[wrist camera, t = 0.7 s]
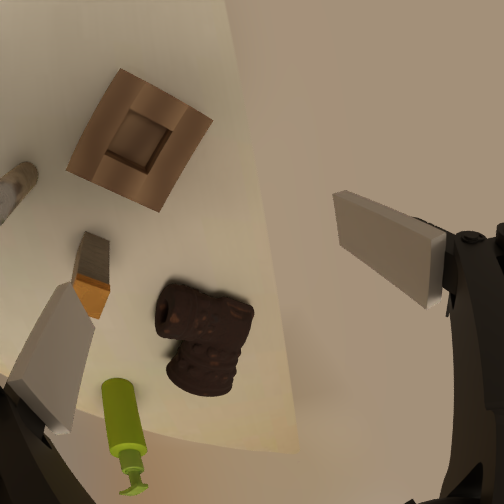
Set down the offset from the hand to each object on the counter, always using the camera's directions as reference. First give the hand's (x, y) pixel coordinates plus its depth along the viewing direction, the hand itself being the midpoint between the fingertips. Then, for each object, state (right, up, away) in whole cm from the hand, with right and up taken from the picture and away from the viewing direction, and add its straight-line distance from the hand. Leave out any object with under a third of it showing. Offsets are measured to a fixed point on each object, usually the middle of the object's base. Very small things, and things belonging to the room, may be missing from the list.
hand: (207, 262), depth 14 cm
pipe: (-7, -11, +33) cm, 35 cm away
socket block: (-11, +13, +17) cm, 24 cm away
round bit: (-24, +9, +13) cm, 29 cm away
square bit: (-18, +1, +21) cm, 27 cm away
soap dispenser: (-22, -24, +33) cm, 46 cm away
